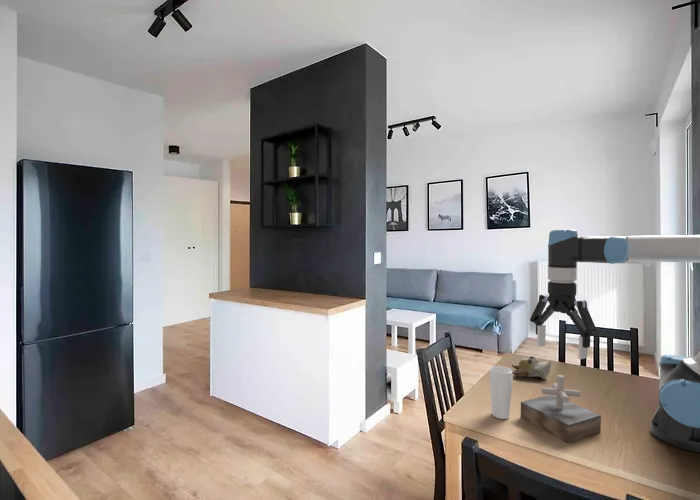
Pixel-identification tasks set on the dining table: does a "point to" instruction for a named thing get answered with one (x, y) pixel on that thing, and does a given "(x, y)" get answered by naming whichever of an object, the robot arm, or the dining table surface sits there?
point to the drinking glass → (501, 391)
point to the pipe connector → (560, 392)
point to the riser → (561, 418)
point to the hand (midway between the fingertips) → (560, 351)
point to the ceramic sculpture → (532, 368)
